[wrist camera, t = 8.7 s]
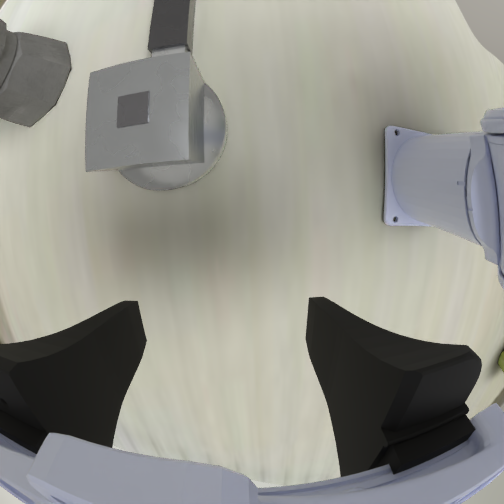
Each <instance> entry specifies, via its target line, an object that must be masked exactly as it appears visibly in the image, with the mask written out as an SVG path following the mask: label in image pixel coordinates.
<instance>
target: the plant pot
mask: <svg viewBox="0 0 504 504" xmlns="http://www.w3.org/2000/svg"><path fill="white" fill-rule="evenodd" d="M498 364H499V366H500V368H501V369H502V370H503V372H504V351H503V352H502V353H501V355H500V358H499V361H498Z"/></svg>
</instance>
